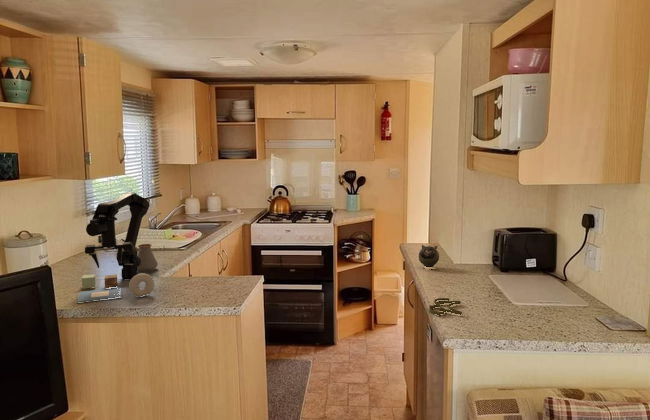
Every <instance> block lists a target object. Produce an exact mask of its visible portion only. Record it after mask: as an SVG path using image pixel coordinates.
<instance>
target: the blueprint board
mask: <svg viewBox="0 0 650 420" xmlns="http://www.w3.org/2000/svg"><path fill="white" fill-rule="evenodd" d="M119 289H120V287H118V289H117V288H111V289H105V288H104V289H94V290H84V291H83V290H82V291H79V294H78V297H77V302H76V304H77V303H78V302H86V301H93V300H100V299H108V298H115V297H119V296H121V297H122V294H121V295H119V294H118V293H119V292H118V291H120V290H119ZM114 294H115V295H114ZM117 294H118V295H117Z"/></svg>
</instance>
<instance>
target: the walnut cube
mask: <svg viewBox="0 0 650 420" xmlns="http://www.w3.org/2000/svg"><path fill="white" fill-rule="evenodd" d="M116 286H119V284H118V274H117V273H116V274H108V275H107V274H106V275H104V289H105V288H109V287H116Z"/></svg>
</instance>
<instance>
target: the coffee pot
mask: <svg viewBox="0 0 650 420" xmlns="http://www.w3.org/2000/svg"><path fill="white" fill-rule="evenodd" d="M120 241H121V243H122V242H125V239H123V238H121V239H120ZM152 246H153V245H152V244H151V243H143V244H141V243H140V244H139V245H137V247H136V246H135V247H136V249H137V256H138V257H139V258H140V259H141V264H140V266H137V273H138V272H139V273H150V272H153V271H155V269H157V267H158V265H159V263H158V261H157V259H156V257H155V255H154V254H153V253H154V252H153V251H152V249H151V247H152Z"/></svg>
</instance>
